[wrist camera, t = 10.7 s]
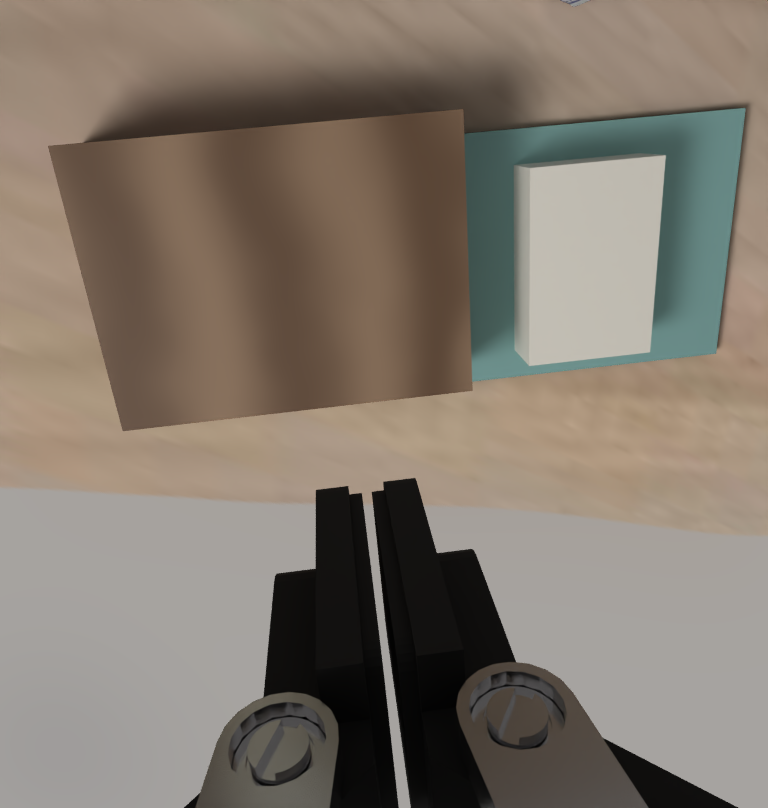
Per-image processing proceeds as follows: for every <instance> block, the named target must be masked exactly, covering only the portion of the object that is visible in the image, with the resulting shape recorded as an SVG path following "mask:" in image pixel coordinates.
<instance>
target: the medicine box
mask: <svg viewBox="0 0 768 808" xmlns="http://www.w3.org/2000/svg"><path fill="white" fill-rule="evenodd" d="M561 1H563V2H566V3H568V4H570V5H572V6H574V7H575V6H578V5H581V4H583V3H585V2H588V1H590V0H561Z"/></svg>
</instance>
